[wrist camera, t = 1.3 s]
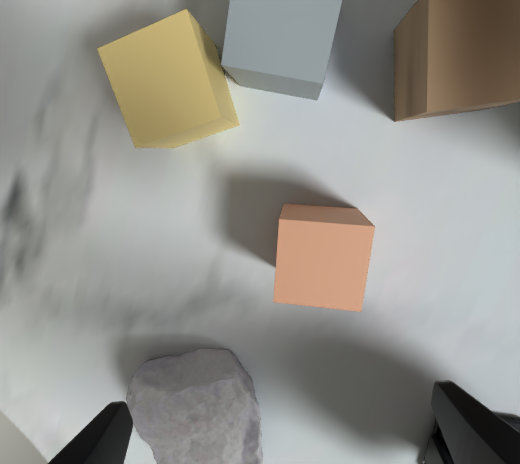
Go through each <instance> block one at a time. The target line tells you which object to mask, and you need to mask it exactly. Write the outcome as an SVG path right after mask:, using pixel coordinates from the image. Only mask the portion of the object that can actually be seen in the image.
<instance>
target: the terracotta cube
mask: <svg viewBox="0 0 520 464" xmlns="http://www.w3.org/2000/svg"><path fill="white" fill-rule="evenodd" d="M374 230H375V226H374V225H373V224H372V223H371V222H370V221H369V220H368V219H367V218H366V217H365V216H364V215H363V214H362V213H361V212H360V211H359V210H358V208H344V207H330V206H316V205H302V204H288V203H284V205H283V208H282V211H281V214H280V218H279V228H278V242H277V257H276V272H275V286H274V301H273V302H277V303H286V304H295V305H304V306H313V307H323V308H332V309H341V310H350V311H359V312H361V310H362V304H363V298H364V292H365V286H366V279H367V273H368V267H369V261H370V254H371V248H372V242H373V236H374Z"/></svg>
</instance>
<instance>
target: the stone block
mask: <svg viewBox="0 0 520 464" xmlns="http://www.w3.org/2000/svg"><path fill="white" fill-rule="evenodd" d="M126 400H127V405H128V408H129V411H130V414H131V416H132V419H133V424H134V426H135V427H136V430H137V432H138V433H139V435H140V437H141V438H142V439H143V440H144V441H146V442H147V443H148V444H149V446H150V447H151V449H152V451H153V455H154V459H155V460H156V462H157V464H263V454H262V446H261V436H262V434H261V429H260V428H261V424H260V421H261V418H260V411H259V404H258V402H257V399H256V397H255V390H254V387H253V381H252V379H251V377H250V376H249V375H248V374H247V372H246V371H245V369H244V368H243V366H242V365H241V363H240V362H239V361H238V359H237V358H236V356H235V355H234V354H233V353H232V352H231V351H229V350H225V349H209V348H206V349H204V348H201V349H198V350H195V351H192V352H186V353H185V354H183V355H177V356H165V357H162V358H158V359H154V360H149V361H147V362H145V363H144V364H143V365H142V366H141V367H140V369H139V370H138V371H137V372H136V373H135V374H134V376H133V378H132V383H131V384H130V385H129V391H128V393H127V398H126Z"/></svg>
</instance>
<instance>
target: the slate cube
mask: <svg viewBox="0 0 520 464" xmlns="http://www.w3.org/2000/svg"><path fill="white" fill-rule="evenodd" d="M341 4H342V0H230V2H229V10H228V17H227V25H226V32H225V39H224V47H223V54H222V61H221V66H222V67H223V68H224V69H225V70H226V71H227V72H228V73H229V74H230V75H231V76H232V77H233V79H234V80H235V81H236V82H237V83H238V84H239V85H240V86H243V87H248V88H253V89H259V90H264V91H269V92H275V93H280V94H285V95H291V96H296V97H302V98H307V99H312V100H318V97H319V94H320V92H321V89H322V86H323V83H324V78H325V74H326V70H327V65H328V61H329V57H330V52H331V48H332V44H333V39H334V35H335V30H336V26H337V22H338V17H339V13H340V9H341Z"/></svg>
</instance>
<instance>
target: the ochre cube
mask: <svg viewBox="0 0 520 464" xmlns="http://www.w3.org/2000/svg"><path fill="white" fill-rule="evenodd" d="M97 50H98V52H99V55H100V58H101V60H102V63H103V65H104V68H105V71H106V73H107V76H108V78H109V81H110V84H111V86H112V89H113V91H114V94H115V96H116V99H117V102H118V104H119V107H120V109H121V112H122V115H123V117H124V120H125V122H126V125H127V128H128V130H129V133H130V135H131V138H132V141H133V143H134V146H135V148H175V147H178V146H181V145H184V144H187V143H189V142H192V141H195V140H198V139H201V138H204V137H207V136H210V135H213V134H216V133H218V132H221V131H224V130H227V129H230V128H233V127H236V126H239V125H240V124H239V121H238V118H237V114H236V111H235V108H234V105H233V101H232V98H231V95H230V91H229V88H228V85H227V81H226V78H225V75H224V72H223V68H222V66H221V62H220V58H219V55H218V52H217V48H216V45H215V44H214V42H213V41H212V40H211V39H210V37H209V36H208V35H207V34H206V32H205V31H204V30H203V29H202V27H201V26H200V25H199V24H198V22H197V21H196V20H195V19H194V17H193V16H192V15H191V14H190V12H189V11H188V10H187V9H185V10H183V11H181V12H178V13H176V14H174V15H172V16H169V17H167V18H165V19H162V20H160V21H158V22H156V23H153V24H151V25H149V26H147V27H144V28H142V29H140V30H138V31H135V32H133V33H131V34H129V35H126V36H124V37H122V38H120V39H117V40H115V41H113V42H111V43H108V44H106V45H104V46H102V47H99V48H97Z"/></svg>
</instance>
